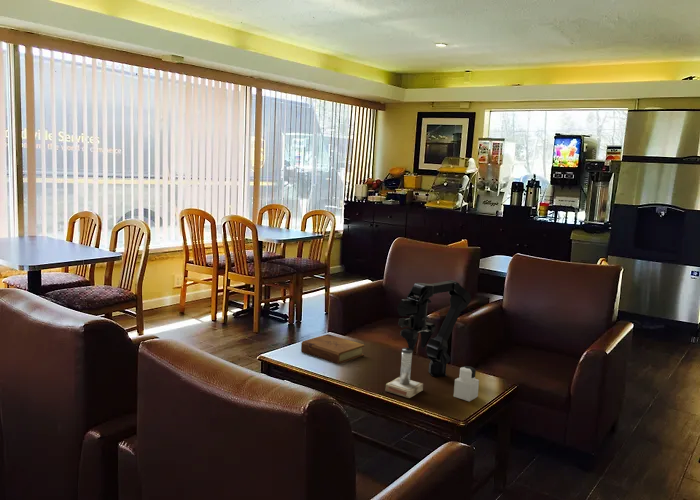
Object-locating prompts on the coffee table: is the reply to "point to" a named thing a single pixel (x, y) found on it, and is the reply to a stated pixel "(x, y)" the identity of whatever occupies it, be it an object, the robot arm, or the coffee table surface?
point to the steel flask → (406, 366)
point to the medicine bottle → (466, 384)
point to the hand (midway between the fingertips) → (417, 349)
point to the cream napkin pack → (404, 388)
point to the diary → (332, 348)
